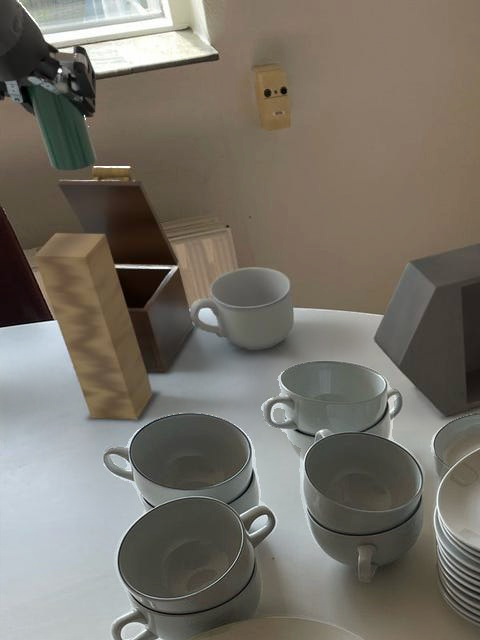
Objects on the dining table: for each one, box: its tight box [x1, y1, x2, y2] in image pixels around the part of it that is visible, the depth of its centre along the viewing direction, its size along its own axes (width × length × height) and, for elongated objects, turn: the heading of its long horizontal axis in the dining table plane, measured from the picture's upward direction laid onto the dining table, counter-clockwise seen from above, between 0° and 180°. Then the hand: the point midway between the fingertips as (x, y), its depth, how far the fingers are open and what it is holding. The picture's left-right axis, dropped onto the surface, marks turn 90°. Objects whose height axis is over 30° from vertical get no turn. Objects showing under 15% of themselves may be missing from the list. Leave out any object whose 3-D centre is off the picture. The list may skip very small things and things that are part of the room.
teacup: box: [189, 266, 295, 351], centre depth 137 cm, size 14×11×8 cm
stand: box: [33, 232, 154, 420], centre depth 121 cm, size 6×6×21 cm
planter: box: [373, 242, 480, 417], centre depth 123 cm, size 17×8×21 cm
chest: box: [114, 264, 195, 374], centre depth 136 cm, size 13×11×9 cm
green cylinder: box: [26, 80, 98, 171], centre depth 115 cm, size 5×5×9 cm
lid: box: [57, 166, 179, 266], centre depth 132 cm, size 14×11×5 cm
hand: (65, 109), depth 116 cm, fingers closed on green cylinder, 5 cm apart
